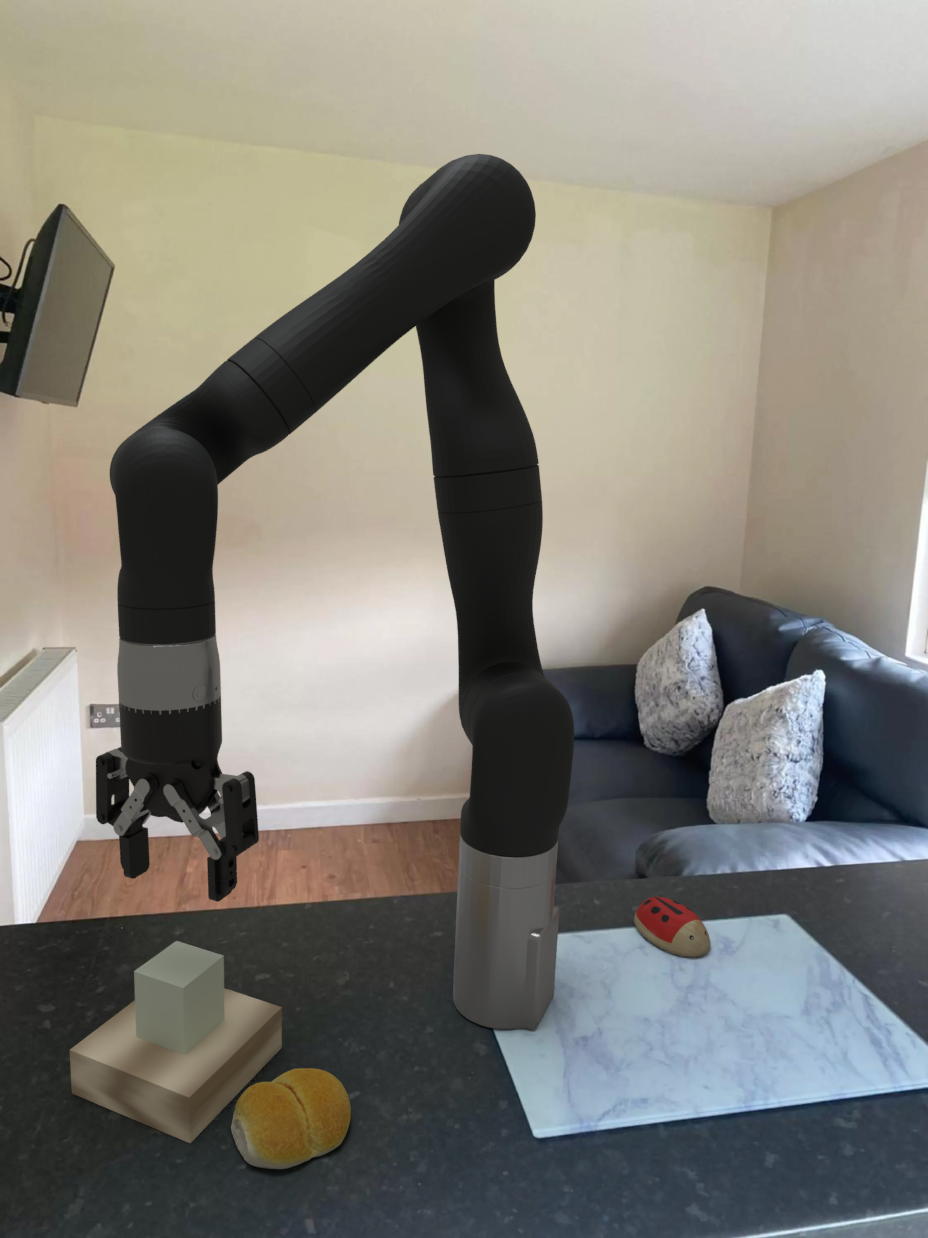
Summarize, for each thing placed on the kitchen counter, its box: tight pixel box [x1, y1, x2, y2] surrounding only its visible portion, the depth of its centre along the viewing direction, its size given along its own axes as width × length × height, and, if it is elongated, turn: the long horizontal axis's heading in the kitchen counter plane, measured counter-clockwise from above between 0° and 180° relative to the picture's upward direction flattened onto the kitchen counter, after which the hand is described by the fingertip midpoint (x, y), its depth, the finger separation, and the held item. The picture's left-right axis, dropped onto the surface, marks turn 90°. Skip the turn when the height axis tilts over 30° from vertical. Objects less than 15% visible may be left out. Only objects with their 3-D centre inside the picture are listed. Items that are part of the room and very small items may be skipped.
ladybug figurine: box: [633, 896, 711, 958], centre depth 97 cm, size 7×10×4 cm
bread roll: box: [230, 1067, 352, 1170], centre depth 68 cm, size 8×9×4 cm
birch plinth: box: [69, 987, 283, 1144], centre depth 73 cm, size 12×12×4 cm
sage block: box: [133, 940, 225, 1055], centre depth 72 cm, size 5×5×6 cm
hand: (177, 885), depth 70 cm, fingers open, 8 cm apart
